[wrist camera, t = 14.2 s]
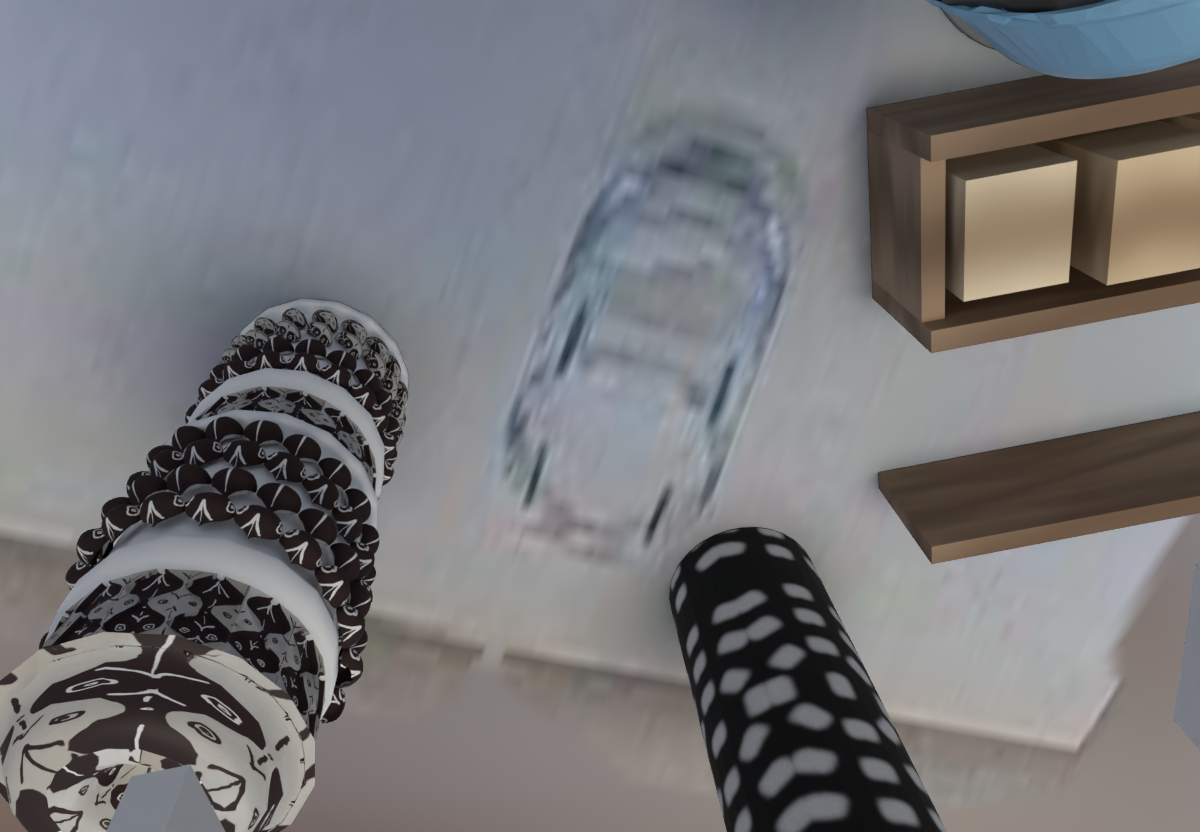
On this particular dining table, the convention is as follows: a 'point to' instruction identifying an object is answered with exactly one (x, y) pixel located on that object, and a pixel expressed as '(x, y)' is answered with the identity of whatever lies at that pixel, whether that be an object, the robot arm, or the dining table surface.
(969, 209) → the offcut block
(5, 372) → the dining table surface
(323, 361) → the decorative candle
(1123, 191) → the offcut block
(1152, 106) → the rack
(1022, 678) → the dining table surface
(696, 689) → the spotted tube
